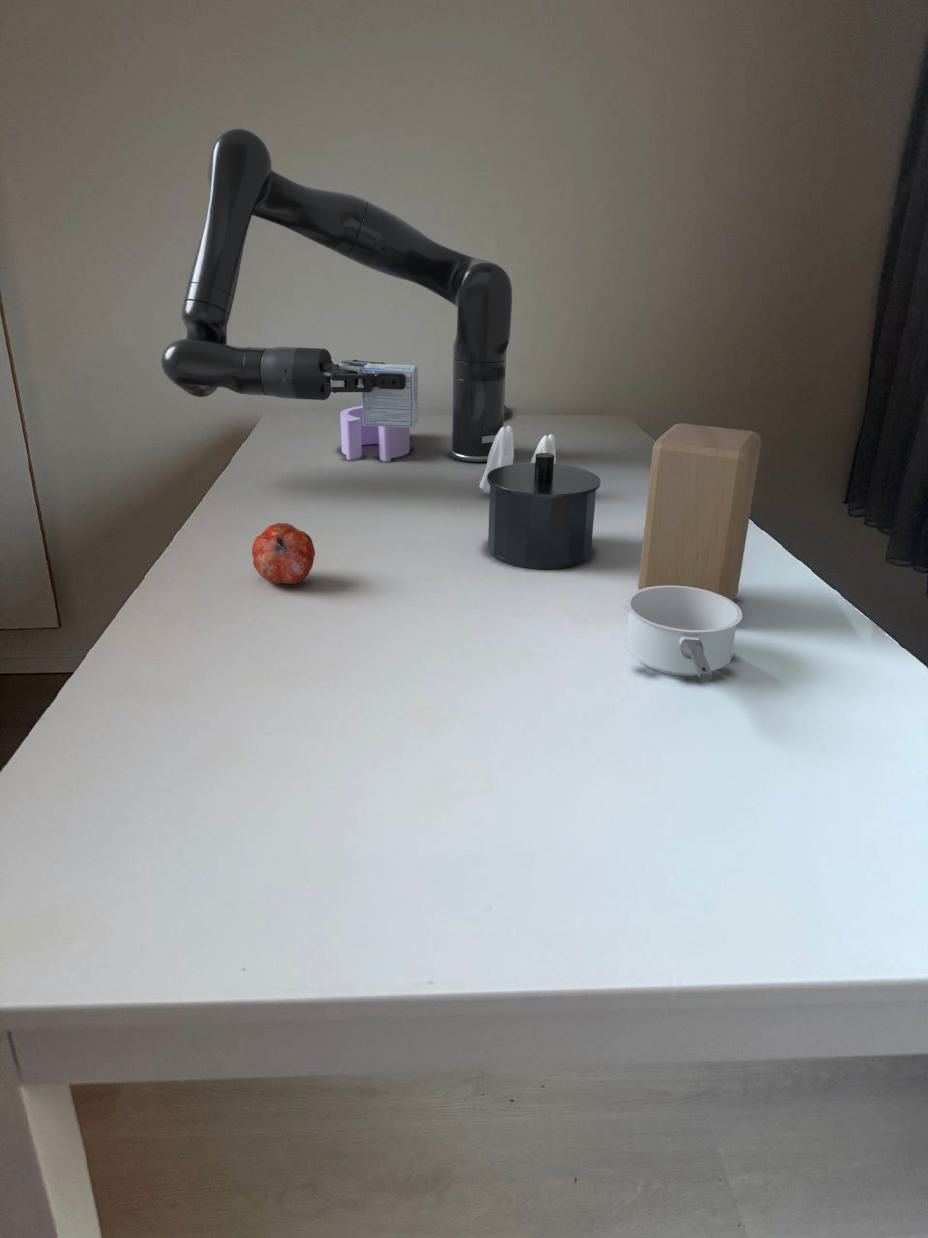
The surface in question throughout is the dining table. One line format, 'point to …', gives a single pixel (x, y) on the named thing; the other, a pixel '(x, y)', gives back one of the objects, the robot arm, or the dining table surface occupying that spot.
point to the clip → (371, 436)
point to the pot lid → (543, 479)
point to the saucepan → (681, 629)
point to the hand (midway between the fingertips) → (407, 378)
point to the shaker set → (511, 453)
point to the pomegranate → (283, 554)
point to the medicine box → (392, 399)
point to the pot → (540, 529)
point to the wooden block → (699, 508)
